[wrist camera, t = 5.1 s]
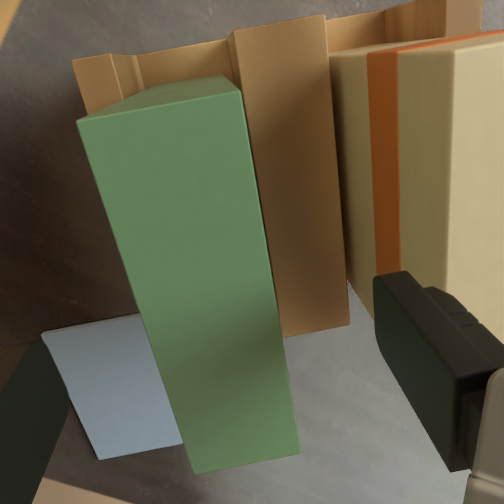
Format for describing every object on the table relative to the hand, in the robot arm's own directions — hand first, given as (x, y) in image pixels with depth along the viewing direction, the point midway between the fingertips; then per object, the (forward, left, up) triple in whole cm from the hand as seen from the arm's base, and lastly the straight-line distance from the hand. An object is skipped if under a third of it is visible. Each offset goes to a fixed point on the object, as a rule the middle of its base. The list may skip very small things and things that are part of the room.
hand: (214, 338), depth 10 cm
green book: (0, 0, -15) cm, 15 cm away
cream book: (+8, 0, -15) cm, 17 cm away
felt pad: (-7, -14, -16) cm, 22 cm away
